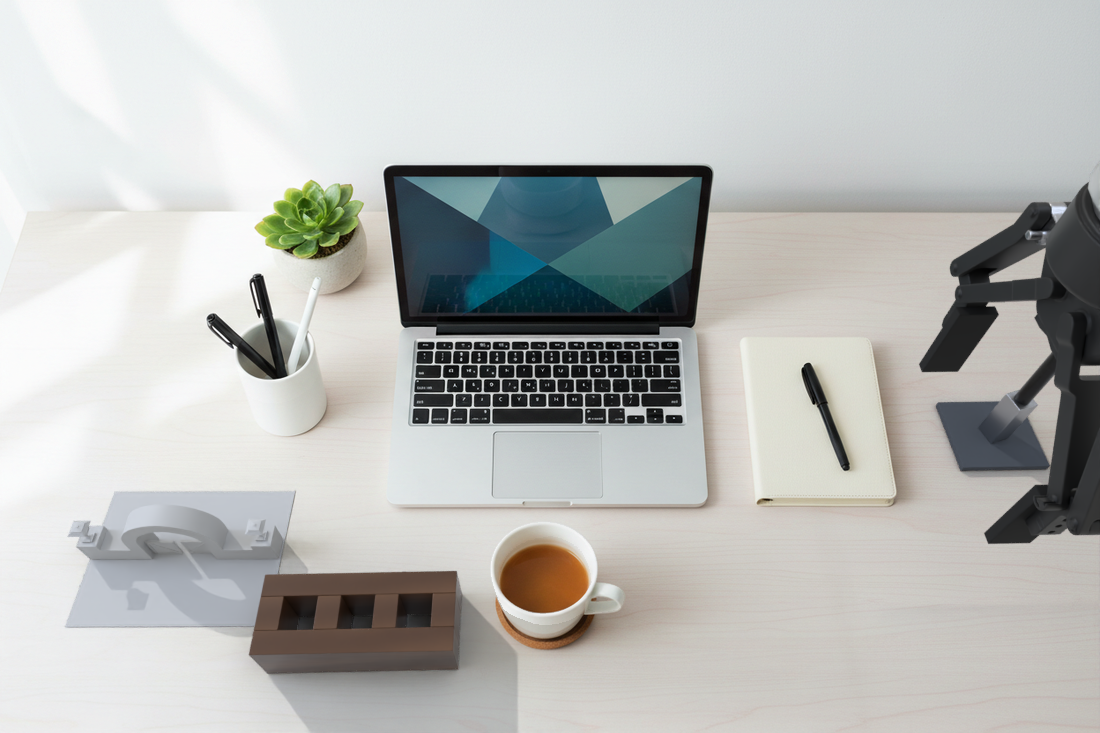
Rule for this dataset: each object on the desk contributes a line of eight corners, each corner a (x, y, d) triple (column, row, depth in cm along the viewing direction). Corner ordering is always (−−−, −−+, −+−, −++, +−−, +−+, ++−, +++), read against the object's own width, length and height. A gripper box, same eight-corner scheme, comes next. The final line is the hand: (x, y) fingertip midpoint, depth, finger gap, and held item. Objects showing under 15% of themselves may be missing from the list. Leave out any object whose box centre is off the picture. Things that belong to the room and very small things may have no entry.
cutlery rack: (458, 669, 75) (453, 650, 71) (267, 674, 75) (248, 655, 70) (462, 593, 80) (457, 570, 75) (281, 596, 80) (264, 574, 75)
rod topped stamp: (990, 444, 90) (1075, 348, 76) (977, 427, 92) (1059, 329, 77) (1007, 438, 91) (1095, 342, 76) (994, 422, 92) (1078, 324, 78)
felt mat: (1046, 469, 89) (1050, 466, 89) (960, 471, 89) (963, 467, 88) (1016, 404, 95) (1019, 400, 94) (935, 405, 94) (937, 402, 94)
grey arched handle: (90, 559, 82) (52, 526, 75) (98, 538, 83) (60, 504, 77) (278, 559, 82) (256, 525, 75) (283, 538, 83) (261, 504, 77)
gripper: (1427, 438, 30) (1104, 625, 47) (1122, 65, 45) (962, 309, 62) (1233, 441, 29) (980, 628, 46) (992, 66, 44) (867, 311, 61)
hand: (969, 447), depth 54 cm, fingers open, 13 cm apart
